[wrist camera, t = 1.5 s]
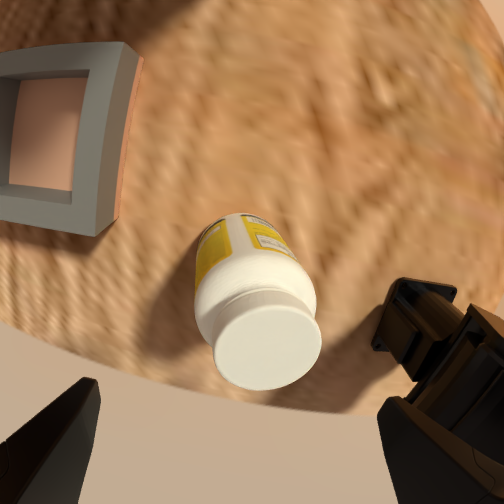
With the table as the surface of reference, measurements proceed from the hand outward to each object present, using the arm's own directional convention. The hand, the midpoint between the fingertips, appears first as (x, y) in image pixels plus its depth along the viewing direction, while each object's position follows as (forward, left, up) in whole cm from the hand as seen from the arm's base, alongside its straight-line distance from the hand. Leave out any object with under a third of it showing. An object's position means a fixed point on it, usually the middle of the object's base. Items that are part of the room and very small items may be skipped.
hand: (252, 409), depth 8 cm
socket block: (+13, -6, -13) cm, 19 cm away
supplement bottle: (0, 0, -13) cm, 13 cm away
